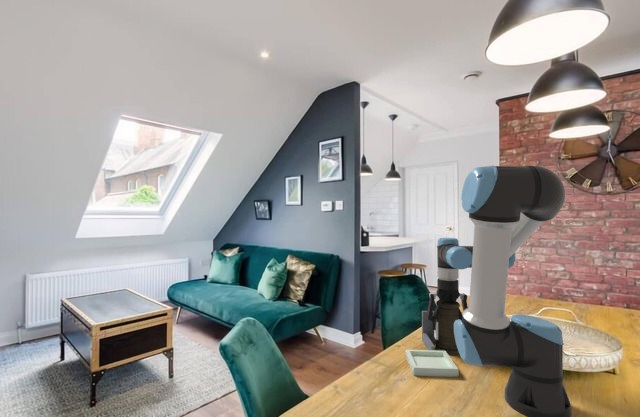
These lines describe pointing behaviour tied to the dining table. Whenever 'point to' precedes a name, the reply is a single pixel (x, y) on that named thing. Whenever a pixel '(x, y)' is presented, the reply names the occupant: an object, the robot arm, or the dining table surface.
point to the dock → (427, 332)
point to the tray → (431, 363)
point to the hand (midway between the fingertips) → (447, 338)
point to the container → (447, 327)
